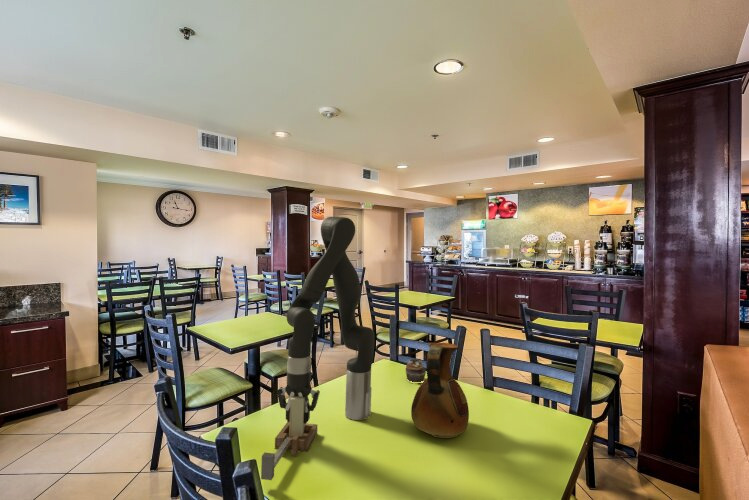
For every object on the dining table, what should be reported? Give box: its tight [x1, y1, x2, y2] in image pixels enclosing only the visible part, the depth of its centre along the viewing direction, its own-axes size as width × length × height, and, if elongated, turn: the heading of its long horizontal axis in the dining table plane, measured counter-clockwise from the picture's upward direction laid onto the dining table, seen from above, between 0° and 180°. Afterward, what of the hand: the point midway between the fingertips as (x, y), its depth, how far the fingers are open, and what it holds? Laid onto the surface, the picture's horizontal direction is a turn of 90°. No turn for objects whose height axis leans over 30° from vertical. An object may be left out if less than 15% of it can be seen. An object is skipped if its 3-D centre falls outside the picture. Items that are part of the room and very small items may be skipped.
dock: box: [274, 421, 318, 458], centre depth 111 cm, size 10×13×5 cm
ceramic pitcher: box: [410, 342, 470, 439], centre depth 122 cm, size 20×20×30 cm
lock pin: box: [260, 439, 291, 481], centre depth 98 cm, size 3×15×6 cm, turn 172°
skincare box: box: [289, 396, 305, 437], centre depth 113 cm, size 6×4×12 cm
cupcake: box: [405, 357, 427, 382], centre depth 166 cm, size 10×10×10 cm
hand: (297, 421), depth 113 cm, fingers closed on skincare box, 5 cm apart
